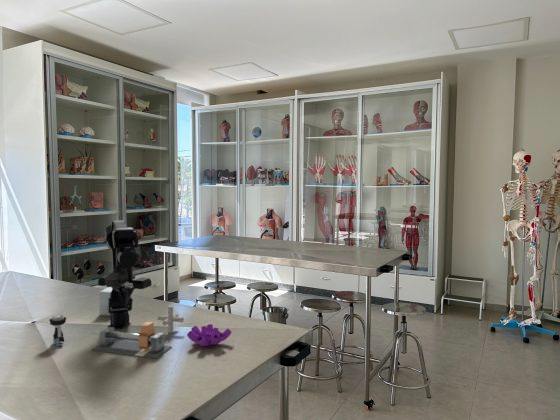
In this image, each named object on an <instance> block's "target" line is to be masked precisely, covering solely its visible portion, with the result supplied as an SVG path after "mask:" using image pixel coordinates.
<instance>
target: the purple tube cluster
mask: <svg viewBox="0 0 560 420" xmlns="http://www.w3.org/2000/svg"><path fill="white" fill-rule="evenodd" d="M231 334H232V331H231V329H229V328H225V330H224V331H223V332H221V331H220V330H219V327H214V325H213V324H212V323H211V324H210V323H208V324H207V325H203V326H201V328H200V327H198V325H194V326H193V327H191V328H190V331H189V332H187V333H186V336H187V338H188V339H189V340H190V341H192V342H194V343H195V344H199V346H201V347H209V346H215V345H218V344H219V343H221V342H224V341H225V340H226V339H228V338H229V337H230V335H231Z"/></svg>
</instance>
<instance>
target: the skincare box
mask: <svg viewBox="0 0 560 420" xmlns="http://www.w3.org/2000/svg"><path fill="white" fill-rule="evenodd" d="M111 291H112V287H106V288H104V289H102V290H100V291H99V316H110V313H108V307H107V305H108V298H110V293H111ZM110 309H111V308H110Z"/></svg>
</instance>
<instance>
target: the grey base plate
mask: <svg viewBox="0 0 560 420" xmlns="http://www.w3.org/2000/svg"><path fill="white" fill-rule="evenodd" d="M114 341H115V342H114V343H112V344H110V345H109V346H107V347H100V344H98V345H96V346H95V347H94V346H93V348H91V351H96V352H103V353H111V354H118V355H127V356H133V357H141V358H148V359H155V360H156V359H158V358H159V357H161V356H162V355H164V354H165V353H167V352H168V351H169V350H171V349H172V348H173V346H171V345H165V344H164V349H163V350H162V351H160V352H159V353H157V354H152V353H151V347H150V348H148V349H139V341H131V340H123V339H115V338H114Z"/></svg>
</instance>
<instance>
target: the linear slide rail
mask: <svg viewBox="0 0 560 420" xmlns="http://www.w3.org/2000/svg"><path fill="white" fill-rule="evenodd" d="M114 339H116V340H124V341H132V342H139V333H133V332H124V331H118V330H117V331H116V330H115V328H114V327H108V326H107V328H105V329H101V330H100V332H99V342H100V343H99V345H100V347H107V346H109V345H110V344H112V343H114V342H115V341H114ZM148 343H151V353H152V354H157V353H159V352H160V351H162V350H163V349H164V345H165V332H158V333H155V335H154V336H153V335H149V336H148Z"/></svg>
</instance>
